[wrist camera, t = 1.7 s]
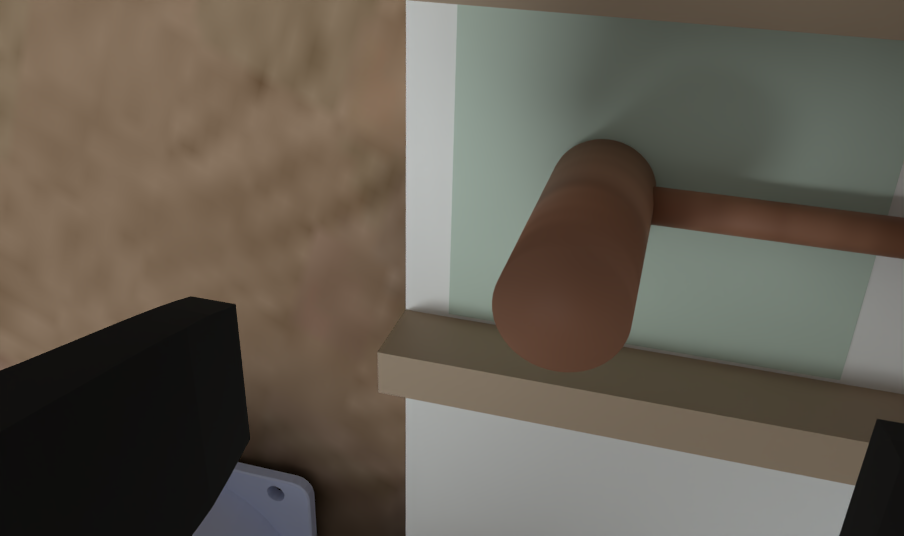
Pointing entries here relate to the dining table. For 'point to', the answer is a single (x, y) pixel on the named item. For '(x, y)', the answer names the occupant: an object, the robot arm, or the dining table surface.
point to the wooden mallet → (633, 250)
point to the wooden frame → (651, 266)
